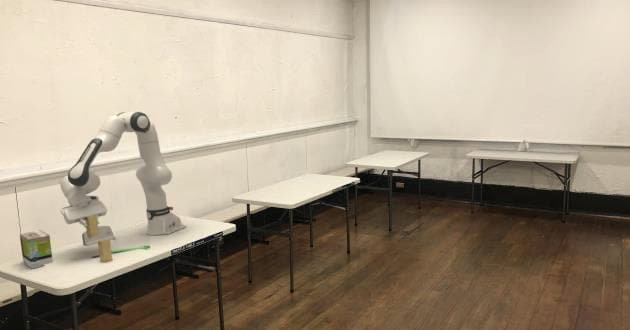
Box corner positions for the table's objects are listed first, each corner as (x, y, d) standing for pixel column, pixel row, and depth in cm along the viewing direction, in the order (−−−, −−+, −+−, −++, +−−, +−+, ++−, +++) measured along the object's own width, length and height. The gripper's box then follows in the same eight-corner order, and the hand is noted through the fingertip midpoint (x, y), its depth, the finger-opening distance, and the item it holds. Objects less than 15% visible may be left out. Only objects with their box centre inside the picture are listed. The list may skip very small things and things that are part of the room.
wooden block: (94, 234, 254) (92, 214, 252) (99, 235, 251) (96, 215, 249) (87, 236, 250) (84, 216, 249) (91, 237, 248) (88, 217, 246)
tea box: (54, 263, 249) (50, 234, 246) (31, 269, 242) (27, 239, 239) (44, 256, 259) (40, 228, 257) (22, 262, 253) (18, 233, 250)
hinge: (87, 248, 270) (82, 230, 271) (83, 249, 274) (78, 231, 274) (116, 239, 283) (111, 222, 284) (113, 241, 286) (108, 224, 287)
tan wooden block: (107, 258, 249) (105, 238, 247) (112, 259, 247) (109, 240, 245) (100, 260, 246) (97, 241, 244) (104, 262, 243) (102, 242, 242)
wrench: (151, 250, 263) (149, 248, 267) (151, 247, 262) (149, 244, 267) (98, 256, 252) (97, 253, 256) (98, 252, 251) (97, 249, 256)
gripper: (60, 204, 244) (73, 226, 240) (101, 195, 260) (113, 216, 255) (57, 212, 248) (69, 234, 243) (97, 203, 263) (109, 224, 259)
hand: (92, 225), depth 249 cm, fingers closed on wooden block, 4 cm apart
